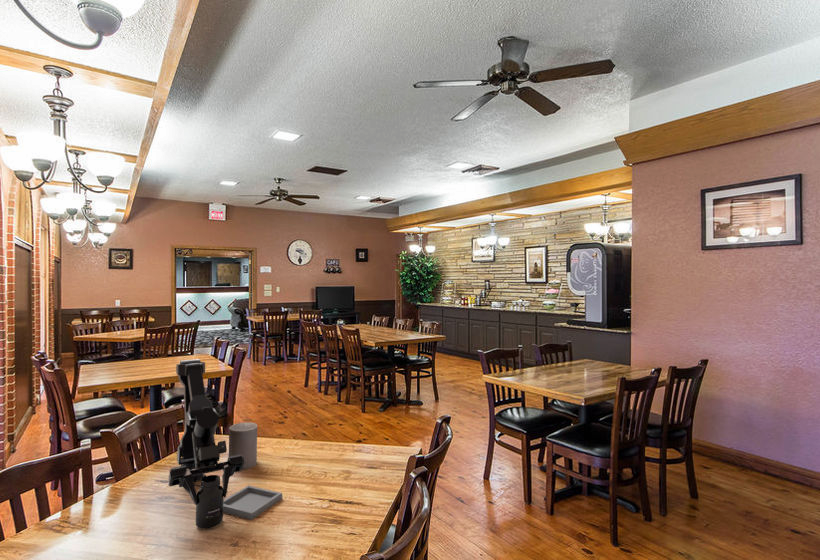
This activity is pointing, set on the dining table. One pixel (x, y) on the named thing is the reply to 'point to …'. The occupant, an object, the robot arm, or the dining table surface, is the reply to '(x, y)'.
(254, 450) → the pillar candle
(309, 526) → the dining table surface
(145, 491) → the dining table surface
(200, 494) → the supplement bottle
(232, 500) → the tray
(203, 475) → the robot arm
